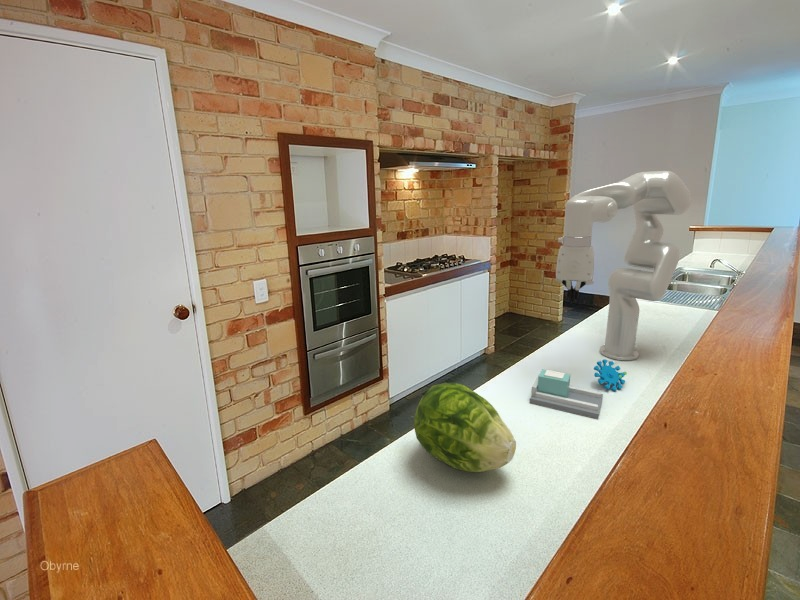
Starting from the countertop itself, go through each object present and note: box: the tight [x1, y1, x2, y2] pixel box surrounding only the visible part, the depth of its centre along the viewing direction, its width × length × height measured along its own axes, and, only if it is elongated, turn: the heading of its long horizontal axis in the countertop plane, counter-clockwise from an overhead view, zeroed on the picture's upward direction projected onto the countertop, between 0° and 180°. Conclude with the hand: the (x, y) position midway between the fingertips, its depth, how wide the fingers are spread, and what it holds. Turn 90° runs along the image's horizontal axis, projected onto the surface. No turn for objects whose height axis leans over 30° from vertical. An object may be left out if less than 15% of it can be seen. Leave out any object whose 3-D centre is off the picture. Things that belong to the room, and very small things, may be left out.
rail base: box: [529, 374, 604, 420], centre depth 116 cm, size 12×18×4 cm, turn 59°
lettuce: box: [413, 382, 517, 473], centre depth 90 cm, size 18×23×19 cm
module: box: [537, 368, 571, 398], centre depth 117 cm, size 5×8×6 cm, turn 59°
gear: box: [593, 358, 628, 392], centre depth 125 cm, size 11×6×10 cm
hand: (572, 301), depth 123 cm, fingers closed
